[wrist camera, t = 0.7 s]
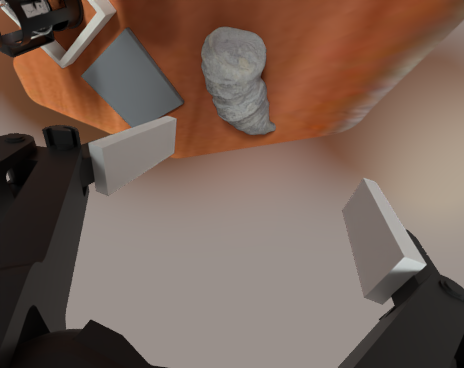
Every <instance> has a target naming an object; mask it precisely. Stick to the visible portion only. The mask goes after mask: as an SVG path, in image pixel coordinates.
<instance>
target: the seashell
mask: <svg viewBox="0 0 464 368" xmlns="http://www.w3.org/2000/svg"><path fill="white" fill-rule="evenodd" d="M201 57H202V60H203V61H202V65H201V68H202V71H203V74H204V77H205V82H206V88H207V90H208V92H209V93H210V94H211V95H212V96H213V103H214V105H215V106H216V108H217V113H218V115H219V116H220V117H221V118H222V119H223V120H225V121H227V122H228V123H230V124H231V125H233V126H234V127H235V128H236V129H237V130H240V131H244V132H245V133H247V134H250V135H257V134H266V133H268V132H271V131H275V129H276V126H275V124H274V123H272V122H271V121H270V120H269V102H268V100H267V96H266V95H267V88H266V85H265V83H264V81H263V80H262V79H261V73H262V71H263V69H264V67H265V63H266V47H265V45H264V43H263V40H262V39H261V38H260V37H259V36H258V35H257V34H255V33H253V32H250V31H246V30H241V29H236V28H231V27H219V28H217V29H216V30H214V31H213V32H212V33H211V34H210V35H208V36H207V37H206V39H205V42H204V44H203V47H202V52H201Z"/></svg>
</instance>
